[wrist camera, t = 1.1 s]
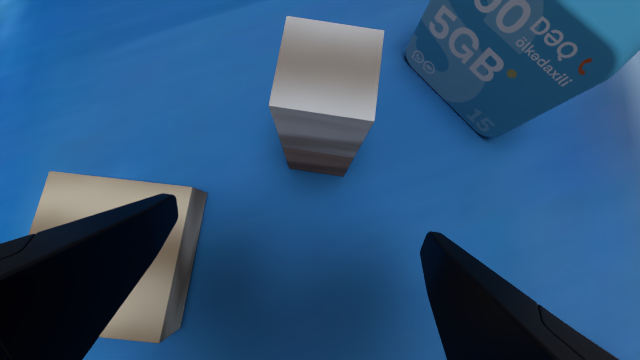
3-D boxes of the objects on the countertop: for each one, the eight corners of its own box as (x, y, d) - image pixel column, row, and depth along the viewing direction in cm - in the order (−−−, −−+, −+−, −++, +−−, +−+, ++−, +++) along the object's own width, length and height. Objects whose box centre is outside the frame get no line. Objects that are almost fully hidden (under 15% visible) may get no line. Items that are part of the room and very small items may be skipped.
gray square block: (343, 176, 24) (374, 121, 12) (289, 168, 24) (268, 105, 12) (349, 126, 25) (384, 30, 13) (298, 118, 25) (286, 16, 13)
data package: (400, 57, 27) (469, -80, 15) (430, 33, 28) (520, -116, 16) (486, 143, 25) (638, 64, 13) (516, 115, 26) (686, 18, 14)
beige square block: (180, 328, 21) (159, 343, 18) (42, 313, 21) (-2, 326, 18) (207, 193, 23) (192, 187, 20) (82, 179, 23) (49, 171, 20)
